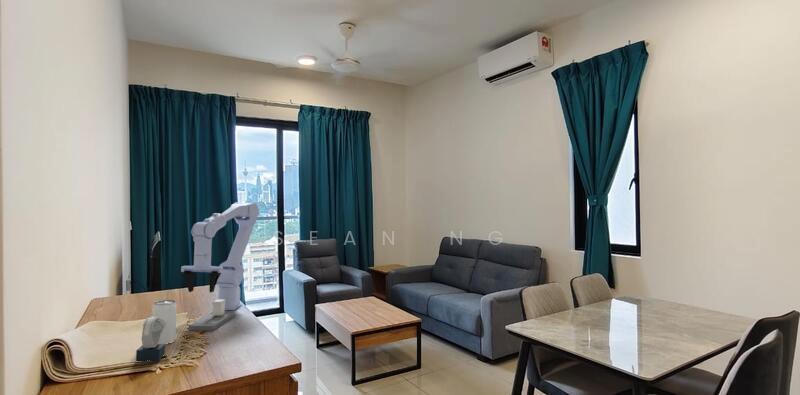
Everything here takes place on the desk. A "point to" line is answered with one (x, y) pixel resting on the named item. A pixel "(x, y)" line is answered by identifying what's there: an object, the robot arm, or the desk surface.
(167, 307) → the can
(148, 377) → the desk surface
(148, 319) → the grey statuette
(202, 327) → the console
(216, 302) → the fader tab
